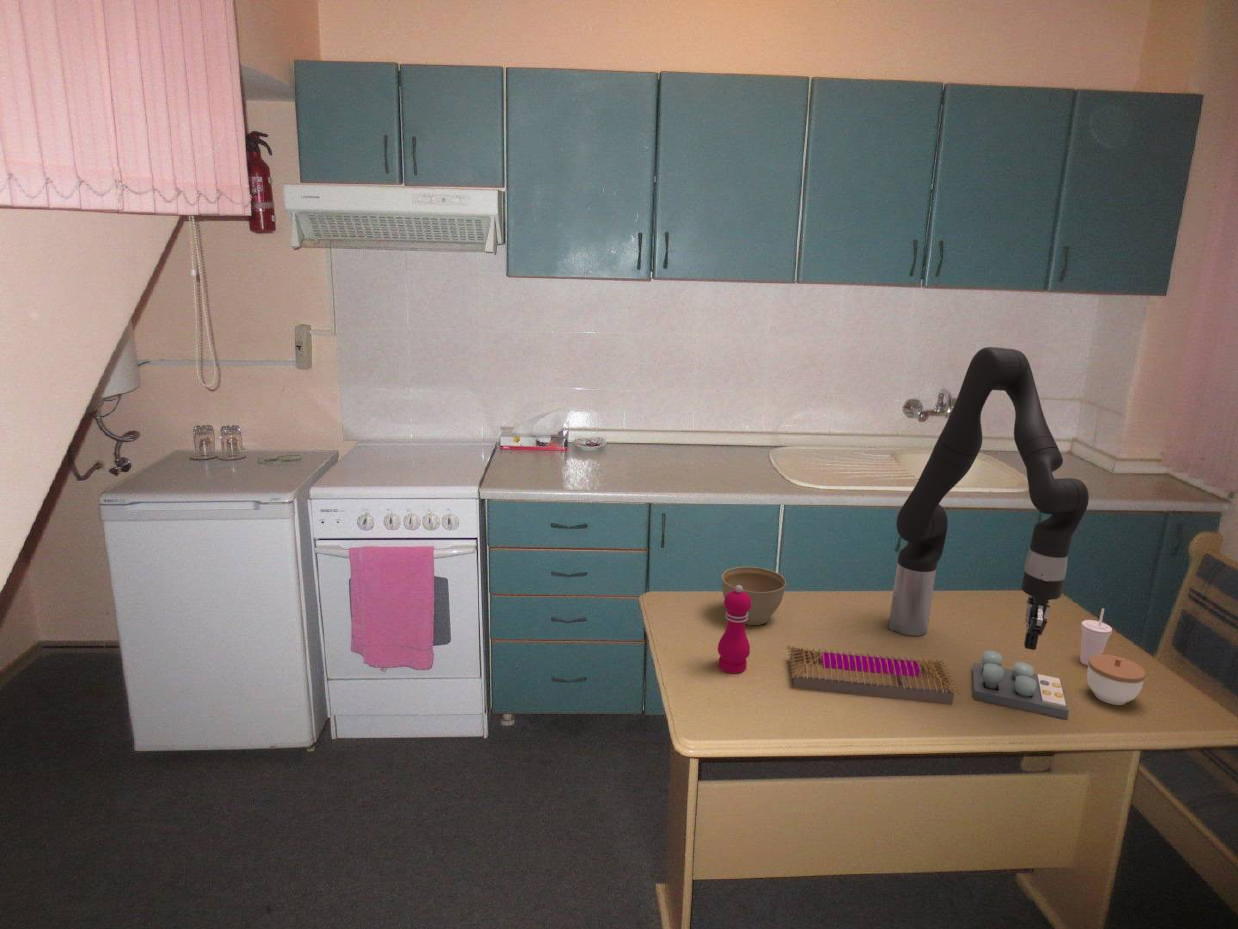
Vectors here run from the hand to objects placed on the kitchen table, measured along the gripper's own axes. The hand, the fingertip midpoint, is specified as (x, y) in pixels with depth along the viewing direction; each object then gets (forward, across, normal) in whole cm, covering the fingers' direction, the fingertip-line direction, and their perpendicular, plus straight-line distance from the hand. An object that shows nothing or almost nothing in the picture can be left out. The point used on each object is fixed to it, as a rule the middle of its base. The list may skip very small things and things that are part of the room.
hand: (1029, 647), depth 174 cm
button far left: (+11, -6, -6) cm, 14 cm away
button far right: (+12, -6, +1) cm, 14 cm away
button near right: (+12, 0, +1) cm, 12 cm away
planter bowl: (+13, -14, -62) cm, 65 cm away
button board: (+13, -3, 0) cm, 13 cm away
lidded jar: (+13, -10, +19) cm, 25 cm away
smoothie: (+13, -26, +17) cm, 34 cm away
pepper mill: (+13, +13, -60) cm, 63 cm away
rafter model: (+14, +6, -31) cm, 34 cm away
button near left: (+11, 0, -6) cm, 12 cm away
